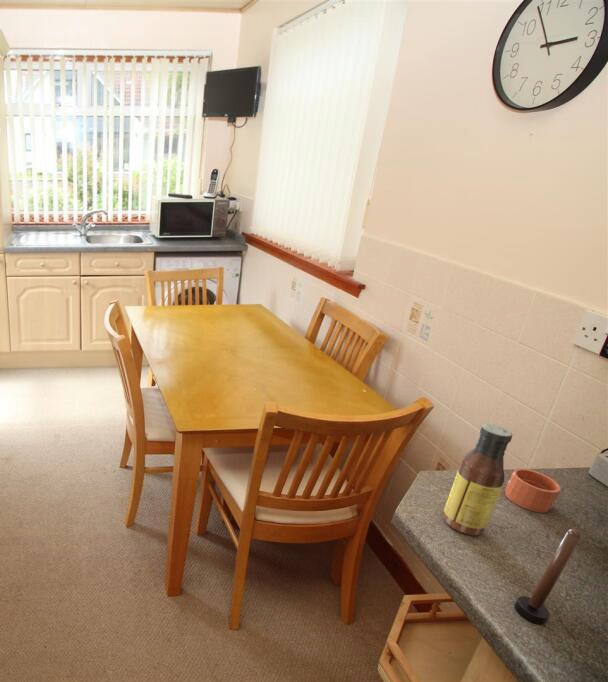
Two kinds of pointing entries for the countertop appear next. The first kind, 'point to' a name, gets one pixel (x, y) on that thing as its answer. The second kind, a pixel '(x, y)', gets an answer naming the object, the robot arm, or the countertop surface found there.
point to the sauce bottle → (478, 482)
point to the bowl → (532, 490)
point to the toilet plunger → (548, 581)
